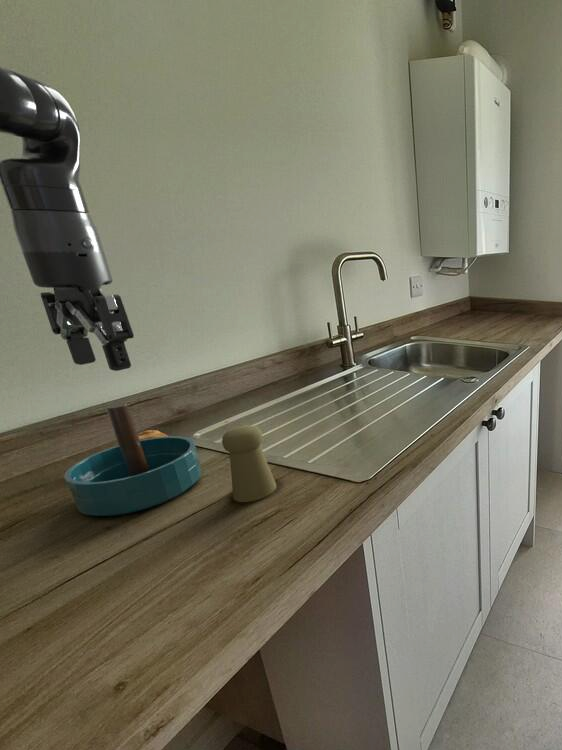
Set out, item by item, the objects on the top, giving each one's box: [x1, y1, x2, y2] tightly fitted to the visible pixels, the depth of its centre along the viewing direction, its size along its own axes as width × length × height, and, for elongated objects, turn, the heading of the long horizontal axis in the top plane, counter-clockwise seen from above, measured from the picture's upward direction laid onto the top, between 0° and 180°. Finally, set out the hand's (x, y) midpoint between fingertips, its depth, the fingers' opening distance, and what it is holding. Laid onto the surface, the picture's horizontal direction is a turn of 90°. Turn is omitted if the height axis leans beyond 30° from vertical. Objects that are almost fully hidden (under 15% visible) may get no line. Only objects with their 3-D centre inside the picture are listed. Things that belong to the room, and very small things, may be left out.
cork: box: [221, 424, 277, 503], centre depth 64 cm, size 6×6×11 cm
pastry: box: [137, 429, 169, 440], centre depth 76 cm, size 9×7×4 cm
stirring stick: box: [105, 402, 150, 476], centre depth 64 cm, size 2×2×14 cm
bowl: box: [63, 435, 203, 517], centre depth 65 cm, size 15×15×6 cm
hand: (103, 366), depth 59 cm, fingers open, 8 cm apart
